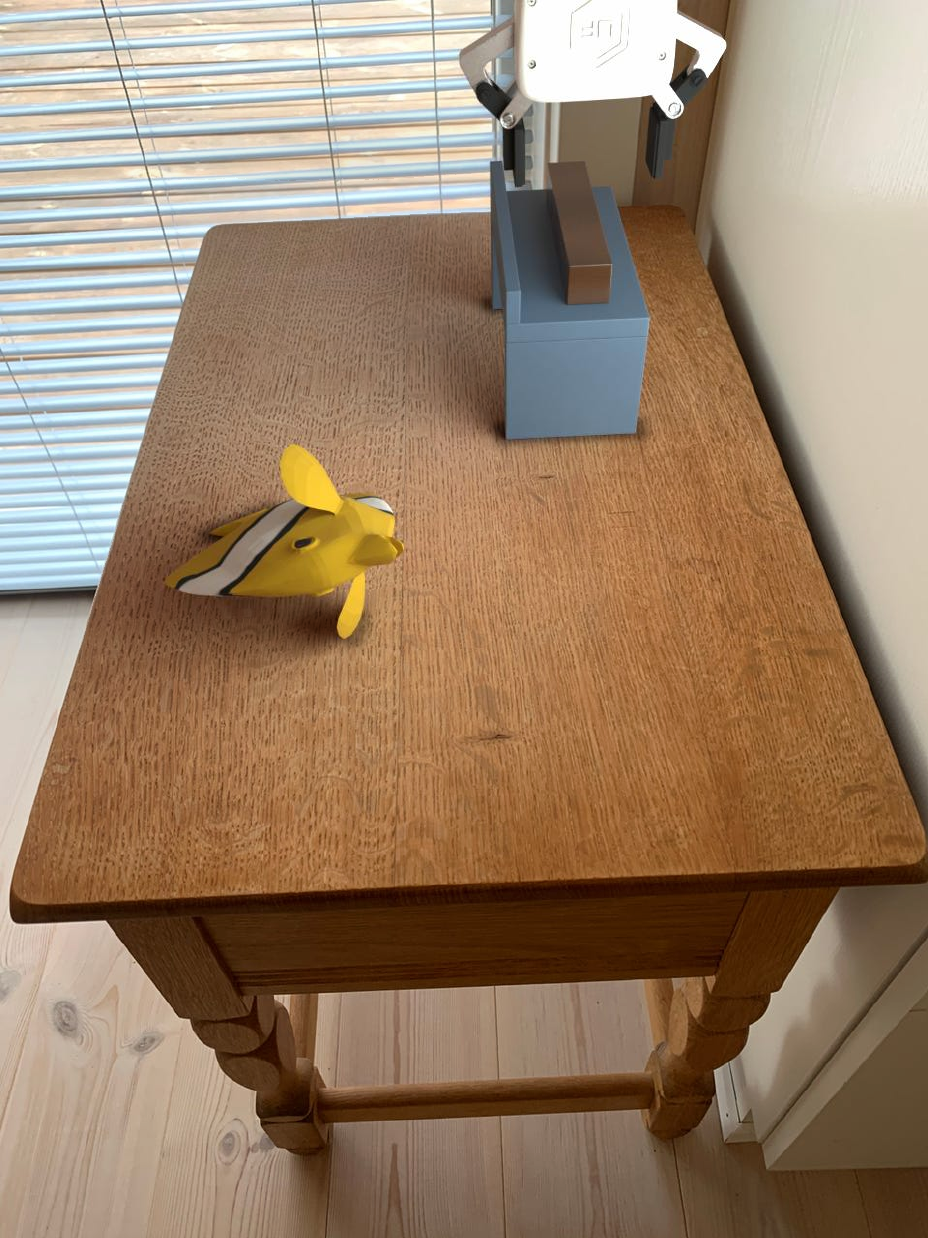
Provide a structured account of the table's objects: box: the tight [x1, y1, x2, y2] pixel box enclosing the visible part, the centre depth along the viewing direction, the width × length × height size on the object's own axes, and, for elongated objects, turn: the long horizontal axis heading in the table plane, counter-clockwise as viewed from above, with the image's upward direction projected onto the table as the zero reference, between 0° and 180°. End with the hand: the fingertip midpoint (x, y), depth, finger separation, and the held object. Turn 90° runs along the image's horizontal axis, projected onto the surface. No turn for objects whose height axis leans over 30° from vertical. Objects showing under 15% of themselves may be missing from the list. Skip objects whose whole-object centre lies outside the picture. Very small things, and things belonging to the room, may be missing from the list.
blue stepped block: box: [489, 160, 651, 440], centre depth 78 cm, size 10×20×12 cm, turn 2°
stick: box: [546, 160, 612, 305], centre depth 74 cm, size 16×3×3 cm, turn 2°
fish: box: [164, 443, 405, 640], centre depth 62 cm, size 20×12×15 cm
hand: (585, 174), depth 70 cm, fingers open, 9 cm apart
